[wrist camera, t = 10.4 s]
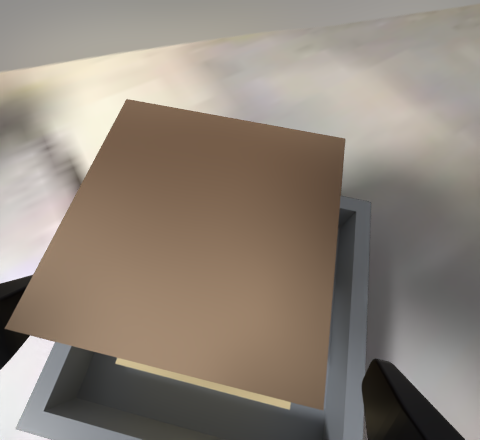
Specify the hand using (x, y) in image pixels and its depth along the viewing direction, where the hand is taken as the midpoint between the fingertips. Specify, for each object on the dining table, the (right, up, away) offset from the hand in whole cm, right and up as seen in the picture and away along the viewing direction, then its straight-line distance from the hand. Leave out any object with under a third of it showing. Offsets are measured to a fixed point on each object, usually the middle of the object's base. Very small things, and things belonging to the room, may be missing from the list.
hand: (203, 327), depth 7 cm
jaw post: (0, -2, +8) cm, 8 cm away
